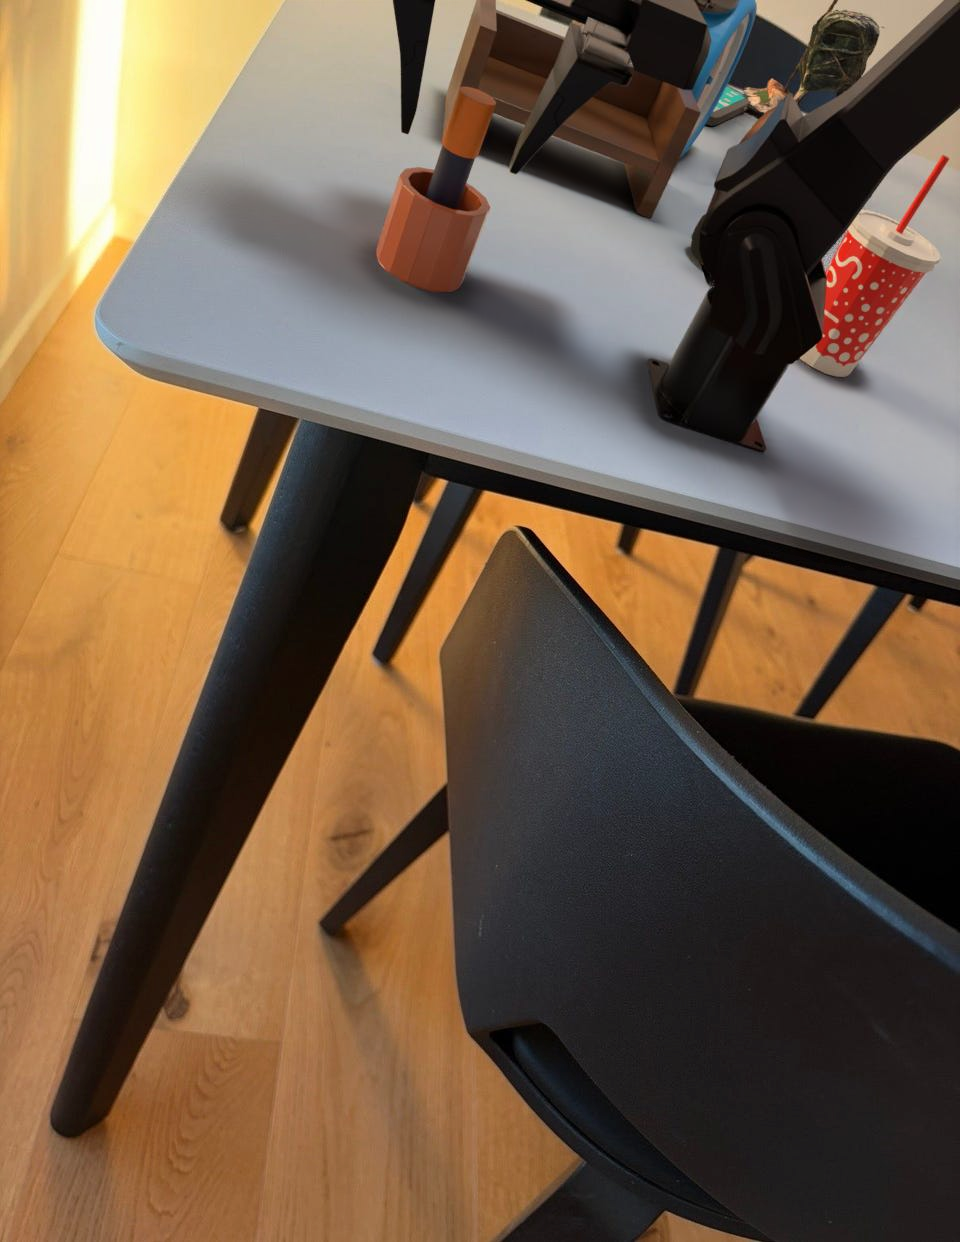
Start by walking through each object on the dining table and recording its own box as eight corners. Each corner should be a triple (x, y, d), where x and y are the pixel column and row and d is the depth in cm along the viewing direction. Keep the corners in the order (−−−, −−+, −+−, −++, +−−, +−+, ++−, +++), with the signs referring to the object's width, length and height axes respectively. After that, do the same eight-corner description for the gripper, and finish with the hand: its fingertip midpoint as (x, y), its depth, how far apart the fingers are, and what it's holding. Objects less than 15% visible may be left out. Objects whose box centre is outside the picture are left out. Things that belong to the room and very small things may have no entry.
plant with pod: (825, 153, 116) (948, -50, 103) (730, 100, 116) (841, -109, 103) (831, 138, 122) (948, -56, 109) (741, 88, 122) (847, -111, 109)
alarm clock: (659, 177, 90) (751, -18, 81) (593, 142, 91) (676, -56, 81) (697, 148, 100) (783, -29, 91) (638, 116, 101) (716, -63, 91)
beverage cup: (774, 320, 76) (891, 121, 67) (852, 352, 77) (978, 159, 68) (784, 362, 72) (910, 154, 63) (867, 395, 73) (1004, 194, 64)
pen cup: (459, 309, 61) (490, 226, 58) (369, 279, 60) (396, 192, 57) (460, 269, 65) (490, 189, 61) (376, 240, 63) (402, 157, 60)
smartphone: (641, 76, 107) (688, 61, 118) (637, 86, 108) (684, 70, 119) (717, 118, 106) (757, 99, 117) (712, 128, 106) (752, 109, 118)
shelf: (651, 218, 82) (701, 112, 77) (441, 141, 79) (480, 24, 74) (637, 168, 90) (682, 69, 85) (445, 95, 86) (480, -14, 81)
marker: (436, 280, 61) (496, 109, 55) (401, 268, 61) (458, 95, 55) (437, 264, 63) (496, 96, 57) (403, 253, 62) (459, 82, 56)
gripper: (738, -141, 56) (610, 157, 66) (382, -304, 52) (302, 40, 62) (782, -98, 48) (628, 235, 57) (363, -288, 43) (274, 106, 53)
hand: (459, 151), depth 58 cm, fingers open, 6 cm apart
